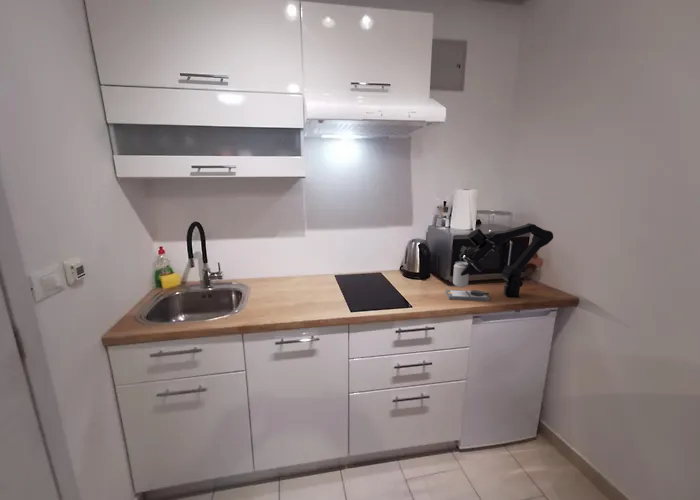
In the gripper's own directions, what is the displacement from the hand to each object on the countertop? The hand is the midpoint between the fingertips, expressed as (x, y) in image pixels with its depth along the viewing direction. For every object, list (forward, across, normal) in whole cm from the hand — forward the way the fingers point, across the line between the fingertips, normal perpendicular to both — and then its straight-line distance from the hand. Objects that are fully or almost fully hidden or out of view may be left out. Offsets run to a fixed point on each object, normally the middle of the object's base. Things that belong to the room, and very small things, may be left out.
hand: (458, 272), depth 168 cm
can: (+4, 0, +6) cm, 7 cm away
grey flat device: (+6, +1, +13) cm, 14 cm away
